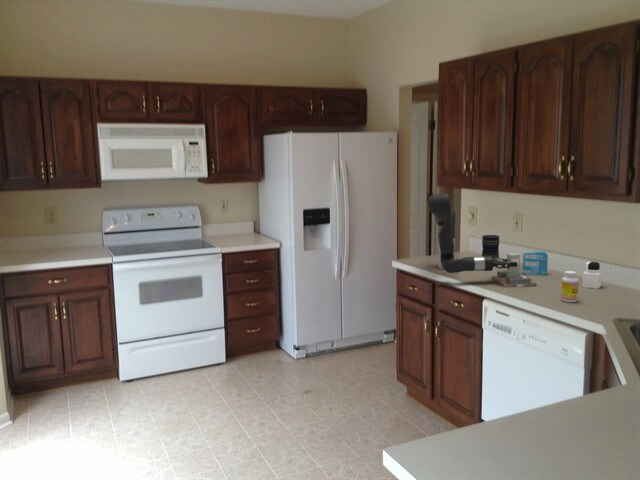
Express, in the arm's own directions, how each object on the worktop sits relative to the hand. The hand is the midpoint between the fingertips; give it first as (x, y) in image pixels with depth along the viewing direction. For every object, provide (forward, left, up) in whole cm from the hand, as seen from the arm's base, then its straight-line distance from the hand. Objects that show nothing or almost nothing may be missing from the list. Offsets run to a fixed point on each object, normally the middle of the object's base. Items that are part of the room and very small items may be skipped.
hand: (514, 262), depth 284 cm
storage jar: (-54, +5, -10) cm, 55 cm away
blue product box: (-16, +17, -10) cm, 25 cm away
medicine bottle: (+14, +33, -10) cm, 37 cm away
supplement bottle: (+37, +12, -10) cm, 40 cm away
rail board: (0, 0, -10) cm, 10 cm away
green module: (0, 0, -9) cm, 9 cm away
